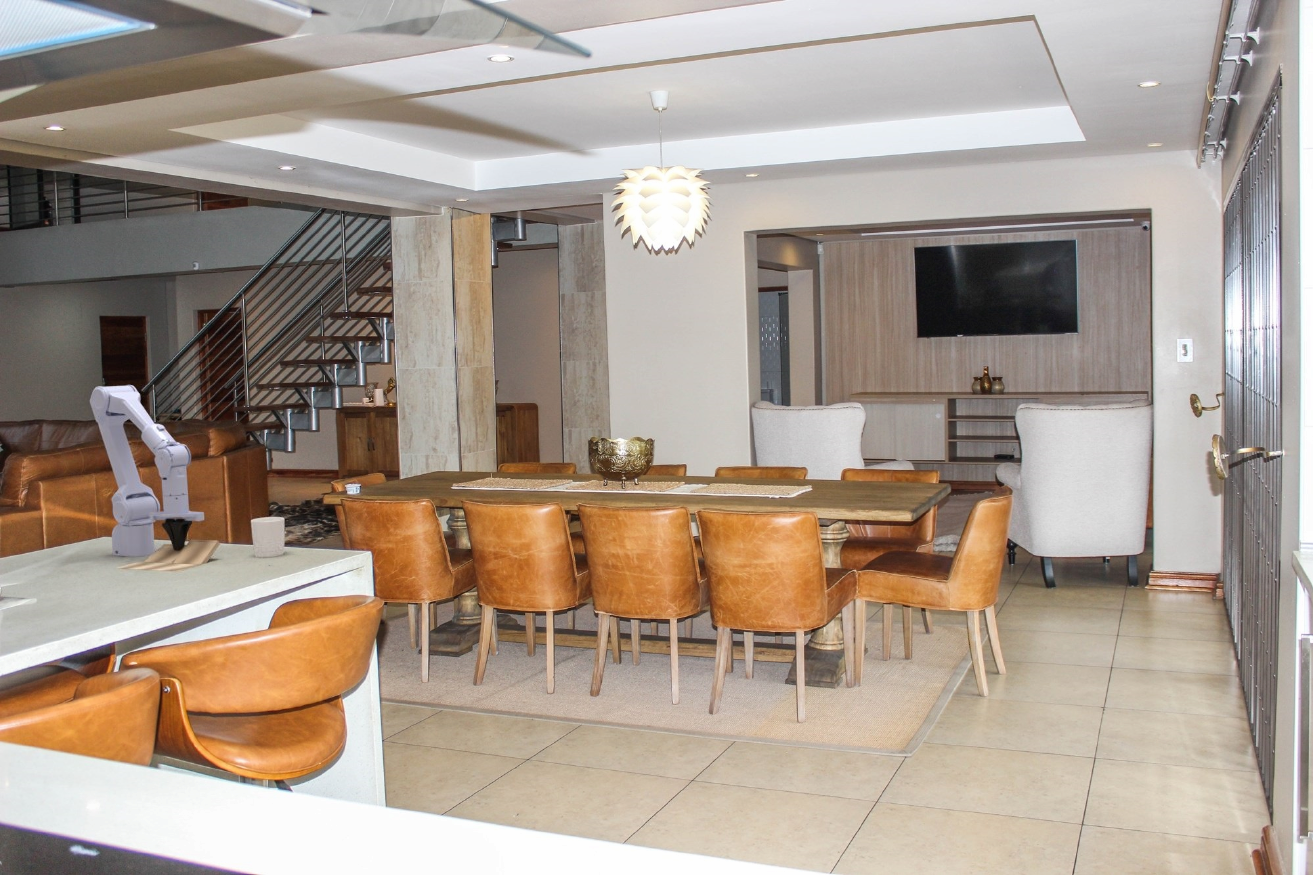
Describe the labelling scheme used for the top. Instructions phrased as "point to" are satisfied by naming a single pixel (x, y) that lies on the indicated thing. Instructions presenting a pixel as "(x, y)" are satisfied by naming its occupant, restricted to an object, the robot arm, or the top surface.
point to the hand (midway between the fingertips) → (178, 549)
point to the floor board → (158, 566)
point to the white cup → (268, 536)
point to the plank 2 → (197, 552)
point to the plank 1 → (164, 554)
